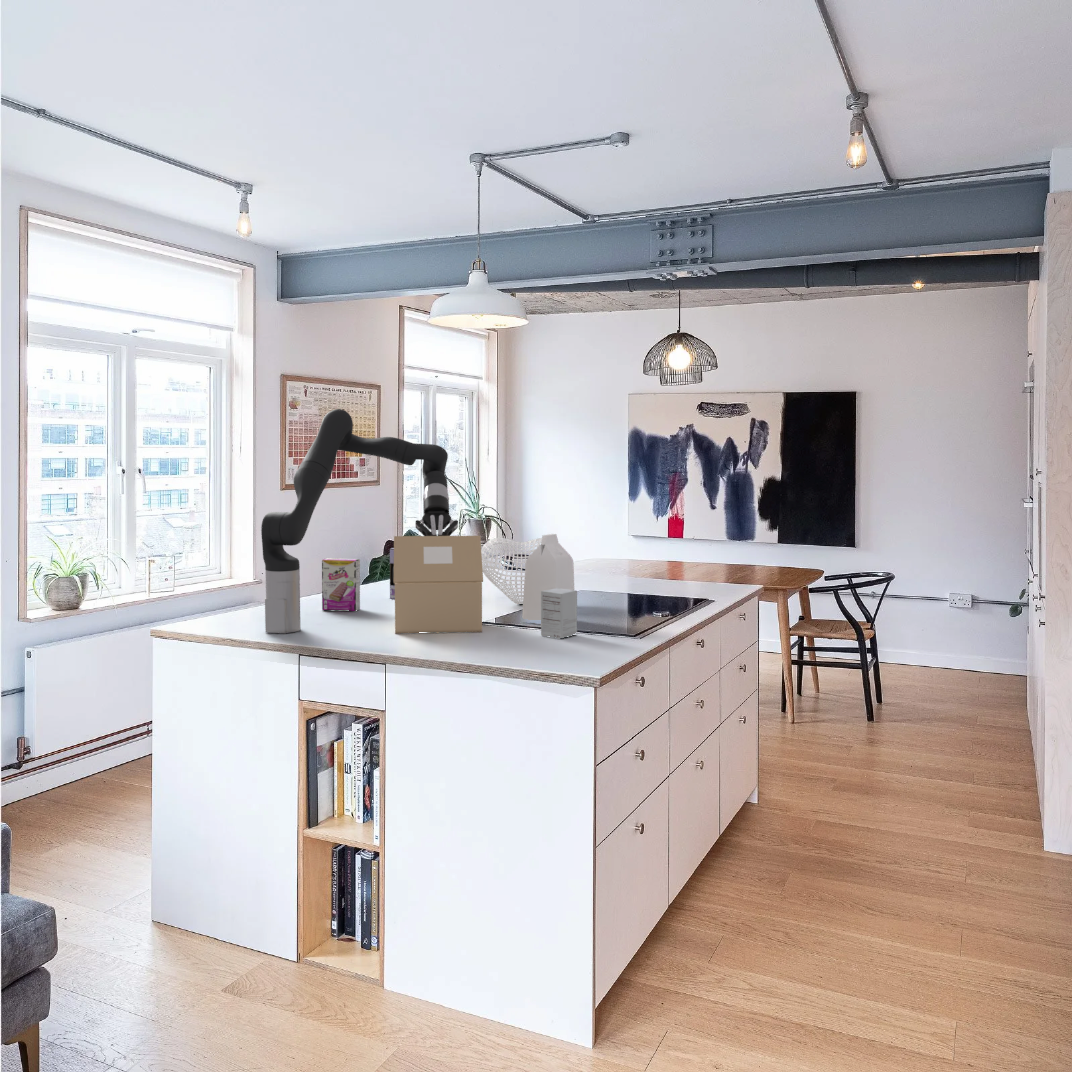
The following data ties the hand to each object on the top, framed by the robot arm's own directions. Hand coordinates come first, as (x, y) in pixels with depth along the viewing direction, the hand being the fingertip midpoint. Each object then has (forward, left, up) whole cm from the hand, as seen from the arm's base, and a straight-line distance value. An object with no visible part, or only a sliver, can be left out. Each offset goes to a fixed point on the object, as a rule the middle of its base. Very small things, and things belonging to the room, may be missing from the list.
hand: (437, 547), depth 272 cm
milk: (+18, -29, -23) cm, 41 cm away
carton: (-1, -1, -23) cm, 23 cm away
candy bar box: (+19, +39, -23) cm, 49 cm away
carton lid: (-4, -2, -3) cm, 5 cm away
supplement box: (-3, -37, -23) cm, 43 cm away
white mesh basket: (+45, -13, -23) cm, 52 cm away
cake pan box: (+53, +30, -23) cm, 65 cm away
